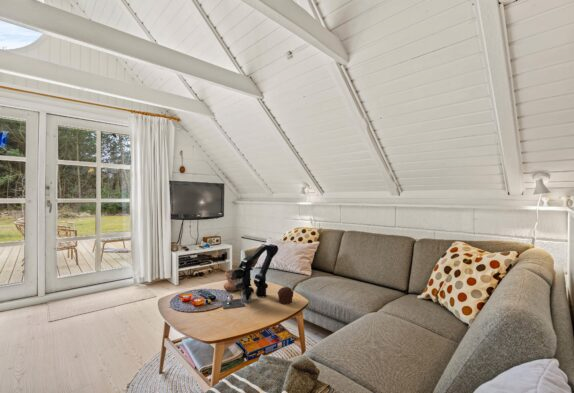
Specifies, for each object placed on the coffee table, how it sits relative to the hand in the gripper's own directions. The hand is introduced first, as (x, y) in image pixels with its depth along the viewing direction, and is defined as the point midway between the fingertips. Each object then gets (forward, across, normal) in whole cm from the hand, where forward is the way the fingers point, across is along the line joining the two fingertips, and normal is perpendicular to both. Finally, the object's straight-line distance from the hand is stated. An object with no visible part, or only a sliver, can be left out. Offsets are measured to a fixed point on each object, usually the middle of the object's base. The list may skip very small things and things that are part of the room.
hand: (246, 298), depth 204 cm
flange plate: (+1, +4, -10) cm, 11 cm away
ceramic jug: (+1, -26, -4) cm, 26 cm away
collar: (+1, 0, 0) cm, 1 cm away
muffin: (+1, +12, +25) cm, 28 cm away
